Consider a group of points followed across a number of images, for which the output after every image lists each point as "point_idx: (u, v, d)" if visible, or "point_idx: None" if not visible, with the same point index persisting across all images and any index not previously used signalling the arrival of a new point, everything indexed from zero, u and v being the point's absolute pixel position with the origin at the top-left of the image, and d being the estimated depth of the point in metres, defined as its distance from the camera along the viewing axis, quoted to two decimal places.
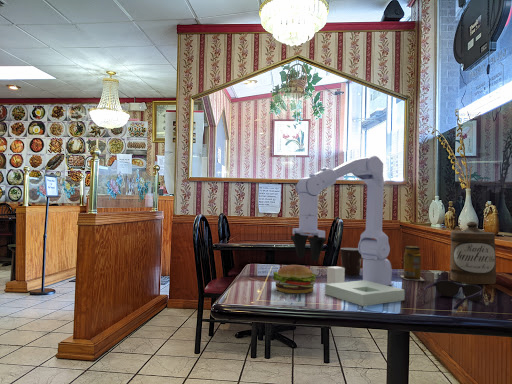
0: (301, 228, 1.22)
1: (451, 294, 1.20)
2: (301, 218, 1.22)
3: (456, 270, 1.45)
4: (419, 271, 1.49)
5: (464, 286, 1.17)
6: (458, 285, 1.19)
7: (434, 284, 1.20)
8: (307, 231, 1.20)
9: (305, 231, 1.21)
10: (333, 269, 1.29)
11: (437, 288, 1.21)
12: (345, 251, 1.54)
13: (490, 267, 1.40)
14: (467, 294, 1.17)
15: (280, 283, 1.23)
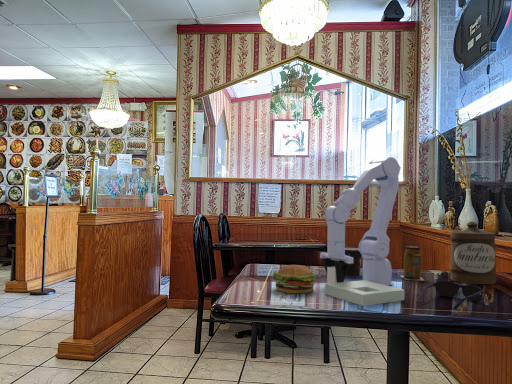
0: (330, 254, 1.30)
1: (451, 294, 1.19)
2: (330, 244, 1.30)
3: (456, 270, 1.45)
4: (419, 271, 1.49)
5: (464, 286, 1.17)
6: (458, 285, 1.18)
7: (433, 284, 1.20)
8: (336, 257, 1.28)
9: (334, 257, 1.28)
10: (333, 269, 1.29)
11: (436, 288, 1.21)
12: (345, 251, 1.54)
13: (490, 267, 1.40)
14: (467, 294, 1.16)
15: (280, 283, 1.23)
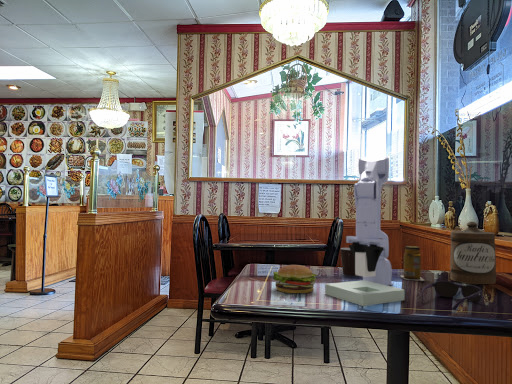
0: (359, 237, 1.12)
1: (450, 295, 1.19)
2: (359, 226, 1.13)
3: (456, 270, 1.45)
4: (419, 271, 1.49)
5: (463, 287, 1.17)
6: (457, 286, 1.18)
7: (433, 285, 1.20)
8: (366, 240, 1.11)
9: (364, 240, 1.11)
10: (363, 254, 1.12)
11: (436, 289, 1.20)
12: (345, 251, 1.54)
13: (490, 267, 1.40)
14: (466, 295, 1.16)
15: (280, 283, 1.23)
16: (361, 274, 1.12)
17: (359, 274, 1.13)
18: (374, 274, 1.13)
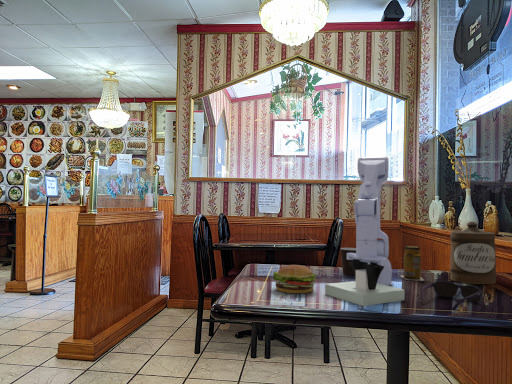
0: (359, 254, 1.12)
1: (450, 295, 1.19)
2: (359, 244, 1.12)
3: (456, 270, 1.45)
4: (419, 271, 1.49)
5: (462, 287, 1.16)
6: (456, 286, 1.18)
7: (432, 285, 1.19)
8: (367, 258, 1.10)
9: (364, 258, 1.11)
10: (363, 272, 1.11)
11: (435, 289, 1.20)
12: (345, 251, 1.54)
13: (490, 267, 1.40)
14: (465, 295, 1.16)
15: (280, 283, 1.23)
16: None
17: None
18: None
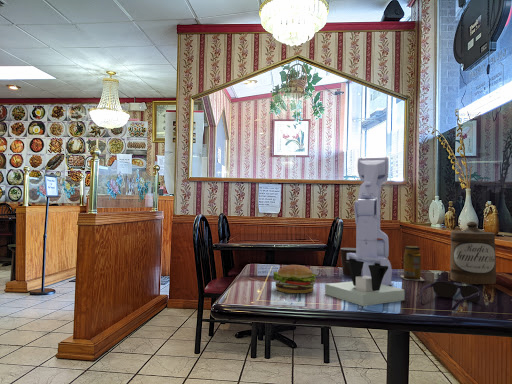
0: (359, 254, 1.12)
1: (449, 295, 1.19)
2: (359, 244, 1.12)
3: (456, 270, 1.45)
4: (419, 271, 1.49)
5: (462, 287, 1.16)
6: None
7: (432, 285, 1.19)
8: (367, 258, 1.10)
9: (364, 258, 1.11)
10: (363, 279, 1.11)
11: (435, 289, 1.20)
12: (345, 251, 1.54)
13: (490, 267, 1.40)
14: (465, 295, 1.15)
15: (280, 283, 1.23)
16: None
17: None
18: None
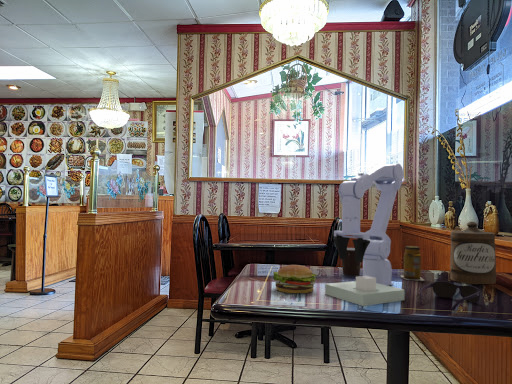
0: (345, 230, 1.25)
1: (448, 295, 1.18)
2: (345, 221, 1.25)
3: (456, 270, 1.45)
4: (419, 271, 1.49)
5: (461, 287, 1.16)
6: (455, 286, 1.17)
7: (431, 285, 1.19)
8: (351, 233, 1.23)
9: (349, 233, 1.24)
10: (363, 279, 1.11)
11: (434, 289, 1.20)
12: None
13: (490, 267, 1.40)
14: (464, 295, 1.15)
15: (280, 283, 1.23)
16: None
17: None
18: None
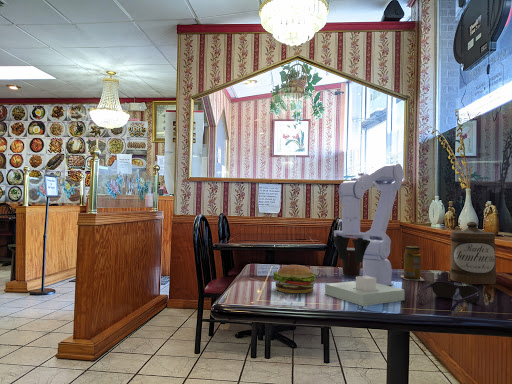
0: (345, 230, 1.25)
1: (448, 295, 1.18)
2: (344, 221, 1.25)
3: (456, 270, 1.45)
4: (419, 271, 1.49)
5: (461, 287, 1.16)
6: (455, 286, 1.17)
7: (431, 285, 1.19)
8: (351, 233, 1.23)
9: (349, 233, 1.24)
10: (363, 279, 1.11)
11: (434, 289, 1.19)
12: None
13: (490, 267, 1.40)
14: (464, 295, 1.15)
15: (280, 283, 1.23)
16: None
17: None
18: None
